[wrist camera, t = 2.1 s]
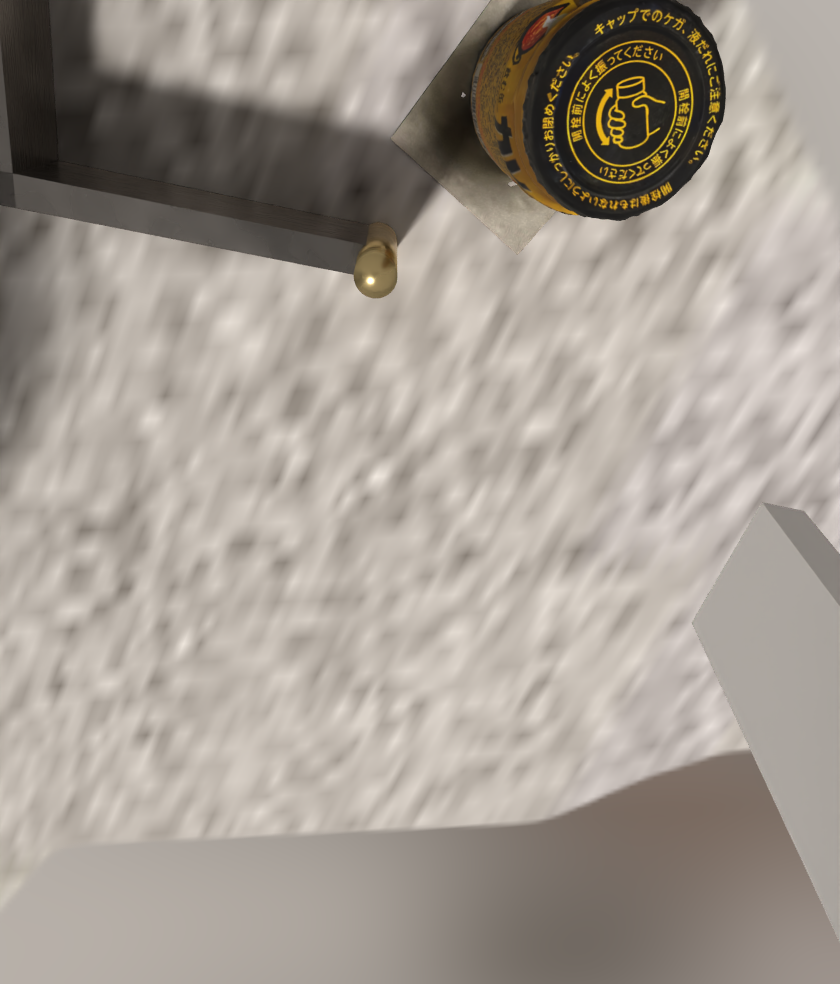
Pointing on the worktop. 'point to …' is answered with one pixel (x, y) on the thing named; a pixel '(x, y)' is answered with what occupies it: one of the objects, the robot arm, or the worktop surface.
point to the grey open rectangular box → (147, 203)
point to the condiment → (569, 111)
